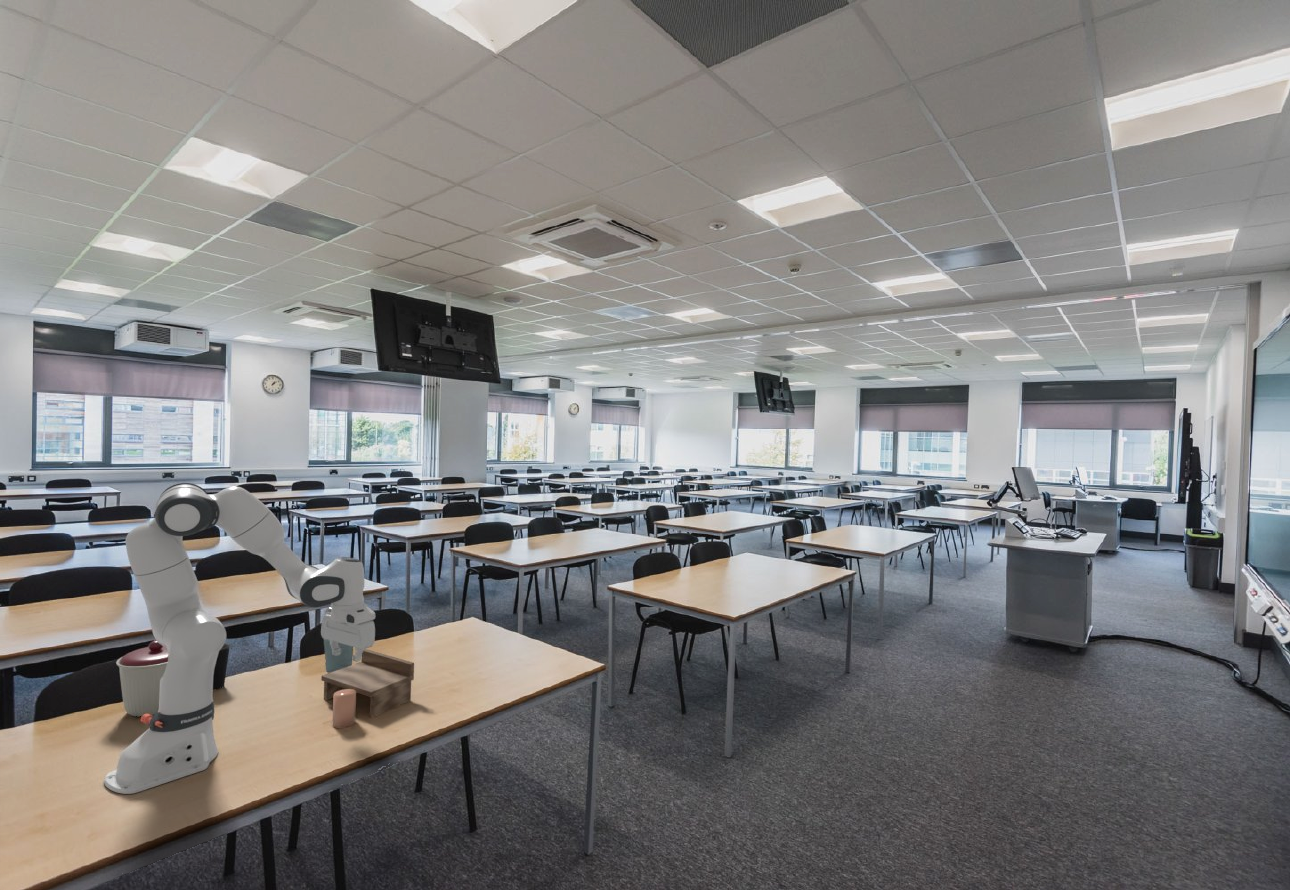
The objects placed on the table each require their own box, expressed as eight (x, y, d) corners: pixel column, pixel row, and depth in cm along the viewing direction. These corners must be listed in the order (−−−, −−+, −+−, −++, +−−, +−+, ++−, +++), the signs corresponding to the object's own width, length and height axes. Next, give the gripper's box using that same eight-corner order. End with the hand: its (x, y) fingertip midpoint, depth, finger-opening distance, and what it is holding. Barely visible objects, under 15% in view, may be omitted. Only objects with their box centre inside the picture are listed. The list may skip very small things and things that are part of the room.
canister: (112, 708, 181) (114, 639, 181) (186, 692, 194) (188, 627, 194) (116, 729, 169) (119, 655, 169) (195, 710, 181) (198, 642, 181)
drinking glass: (352, 671, 215) (353, 638, 215) (320, 674, 212) (321, 641, 212) (354, 661, 225) (355, 630, 225) (324, 664, 221) (325, 632, 221)
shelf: (370, 718, 180) (371, 679, 180) (320, 700, 191) (321, 663, 191) (413, 699, 194) (414, 662, 194) (364, 683, 205) (365, 648, 205)
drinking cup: (214, 693, 194) (216, 632, 194) (195, 690, 195) (197, 630, 195) (235, 684, 201) (236, 625, 201) (216, 681, 203) (218, 623, 203)
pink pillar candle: (341, 729, 172) (342, 699, 173) (327, 724, 175) (328, 694, 175) (359, 721, 178) (360, 691, 178) (346, 716, 181) (347, 687, 181)
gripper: (315, 608, 179) (314, 654, 179) (360, 619, 169) (359, 667, 169) (335, 603, 184) (334, 648, 184) (379, 614, 175) (378, 660, 175)
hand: (346, 657), depth 177 cm, fingers open, 8 cm apart
